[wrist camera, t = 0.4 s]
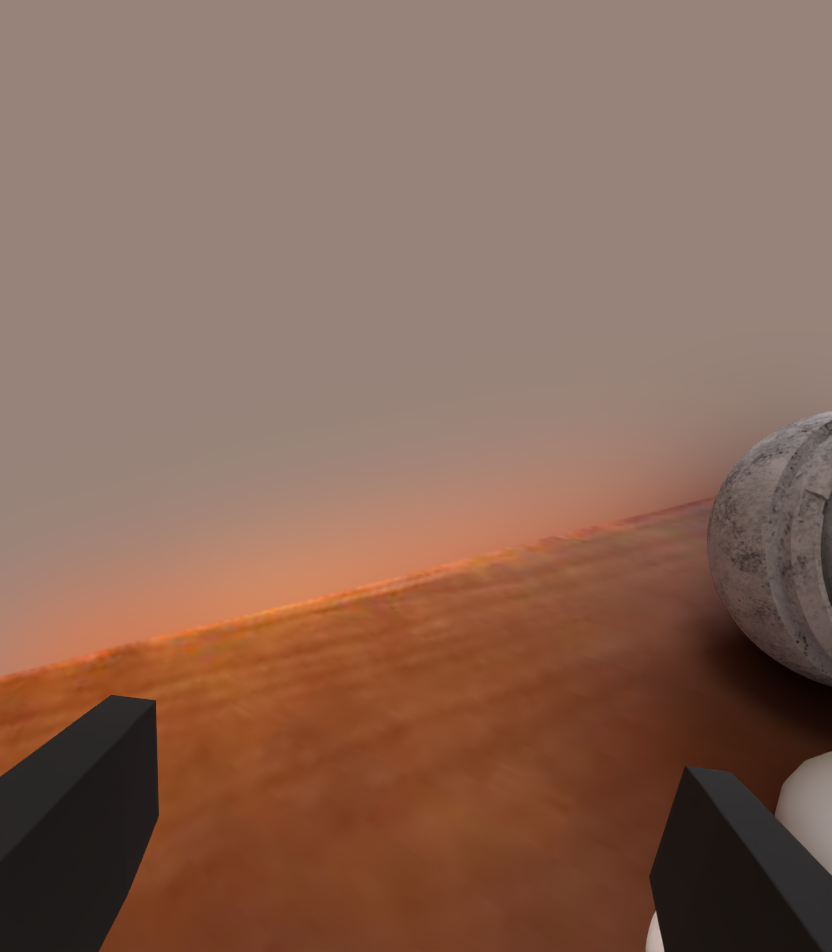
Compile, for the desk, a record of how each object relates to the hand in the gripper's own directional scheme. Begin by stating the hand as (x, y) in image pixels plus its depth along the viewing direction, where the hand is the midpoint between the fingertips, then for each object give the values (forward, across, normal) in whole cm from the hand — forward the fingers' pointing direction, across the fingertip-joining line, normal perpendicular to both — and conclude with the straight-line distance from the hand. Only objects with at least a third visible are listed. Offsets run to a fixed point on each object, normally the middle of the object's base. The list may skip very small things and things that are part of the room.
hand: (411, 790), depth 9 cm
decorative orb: (+27, -24, +13) cm, 38 cm away
